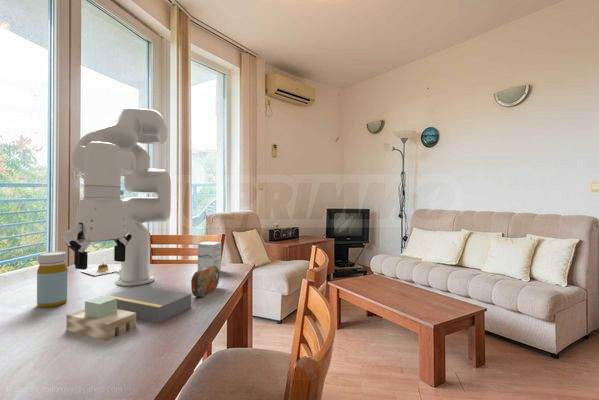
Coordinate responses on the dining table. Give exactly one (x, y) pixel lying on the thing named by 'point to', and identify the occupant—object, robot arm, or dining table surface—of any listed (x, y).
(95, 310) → the box
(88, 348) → the dining table surface
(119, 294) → the dock
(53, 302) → the bottle
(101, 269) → the dessert
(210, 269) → the tin
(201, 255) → the supplement box
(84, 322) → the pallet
